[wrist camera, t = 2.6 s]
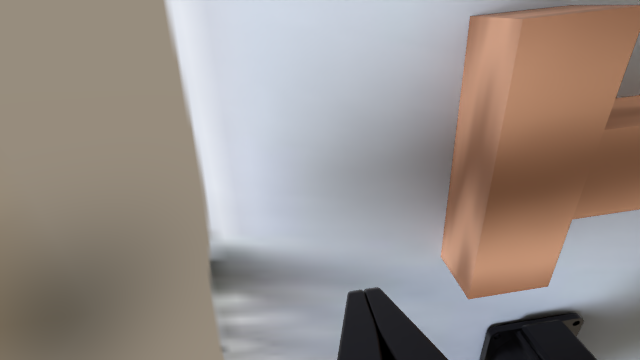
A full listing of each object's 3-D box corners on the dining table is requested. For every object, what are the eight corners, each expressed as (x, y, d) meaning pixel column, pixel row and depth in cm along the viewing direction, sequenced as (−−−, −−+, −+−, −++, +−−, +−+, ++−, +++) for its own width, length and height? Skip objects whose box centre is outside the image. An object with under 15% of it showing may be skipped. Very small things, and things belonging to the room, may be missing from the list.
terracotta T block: (640, 225, 19) (700, 261, 16) (440, 256, 18) (468, 299, 15) (759, -16, 13) (883, -21, 10) (469, 16, 12) (523, 18, 9)
